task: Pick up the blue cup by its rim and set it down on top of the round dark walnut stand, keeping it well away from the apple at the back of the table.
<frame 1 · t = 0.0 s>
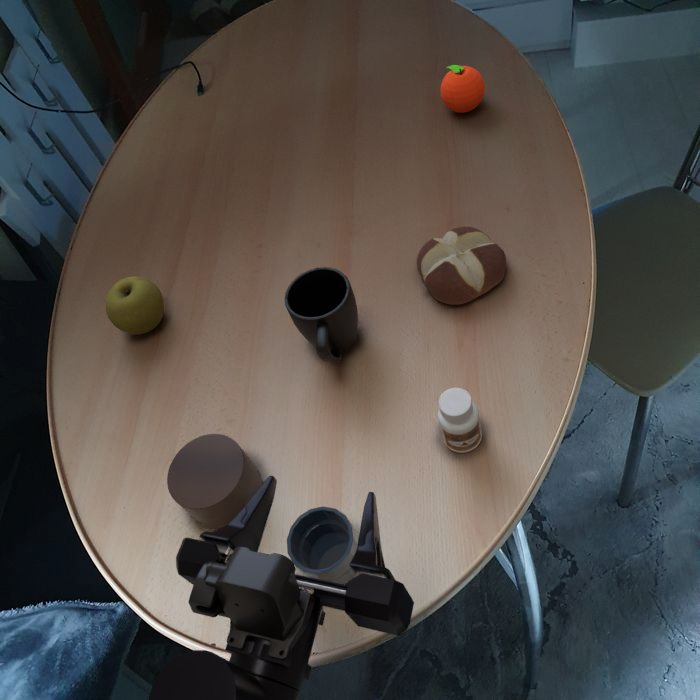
hand: (321, 485, 58), 17 cm above the table, tool horizontal, fingers open, 9 cm apart
mug: (337, 351, 87), on the table
apple: (148, 322, 98), on the table
stand: (225, 491, 79), on the table
clementine: (462, 108, 110), on the table
blue cup: (333, 557, 71), on the table
bread: (463, 273, 90), on the table
pill bottle: (462, 437, 76), on the table
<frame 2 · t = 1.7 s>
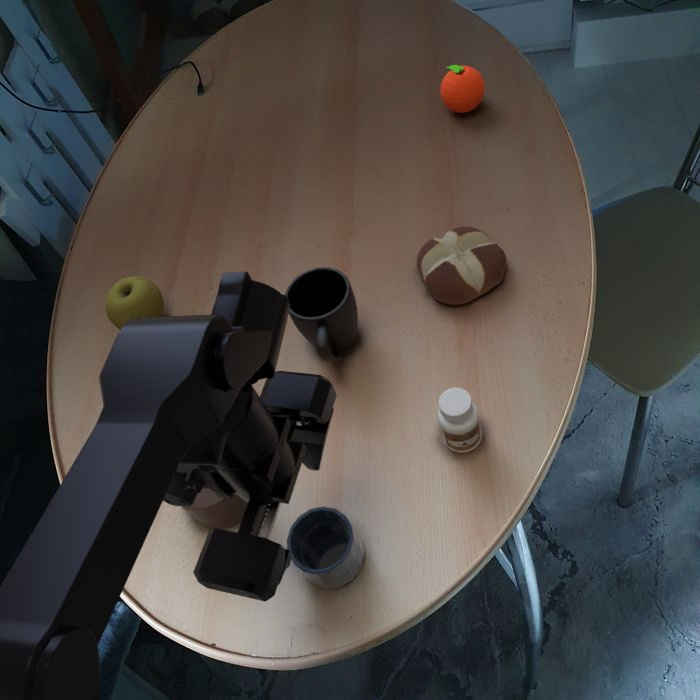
hand: (300, 514, 62), 12 cm above the table, tool pointing down, fingers open, 9 cm apart
nothing on the table moved.
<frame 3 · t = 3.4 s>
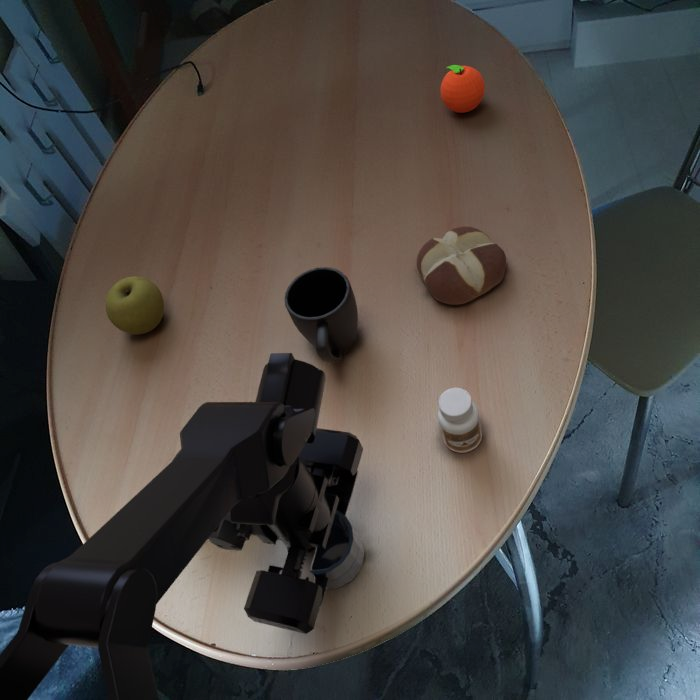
hand: (329, 552, 70), 2 cm above the table, tool pointing down, fingers closed on blue cup, 7 cm apart
blue cup: (333, 557, 71), on the table, touching gripper
everything else where it was.
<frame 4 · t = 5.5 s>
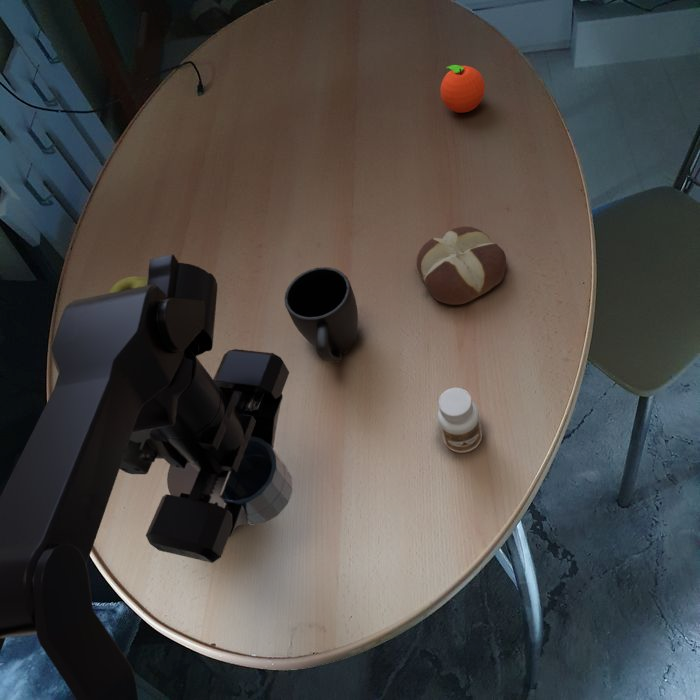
hand: (255, 486, 65), 12 cm above the table, tool pointing down, fingers closed on blue cup, 7 cm apart
blue cup: (260, 492, 66), point 10 cm above the table, touching gripper
everything else where it was.
when the fingers open (8 cm above the table, at t = 7.8 s): blue cup stays where it is, resting on stand.
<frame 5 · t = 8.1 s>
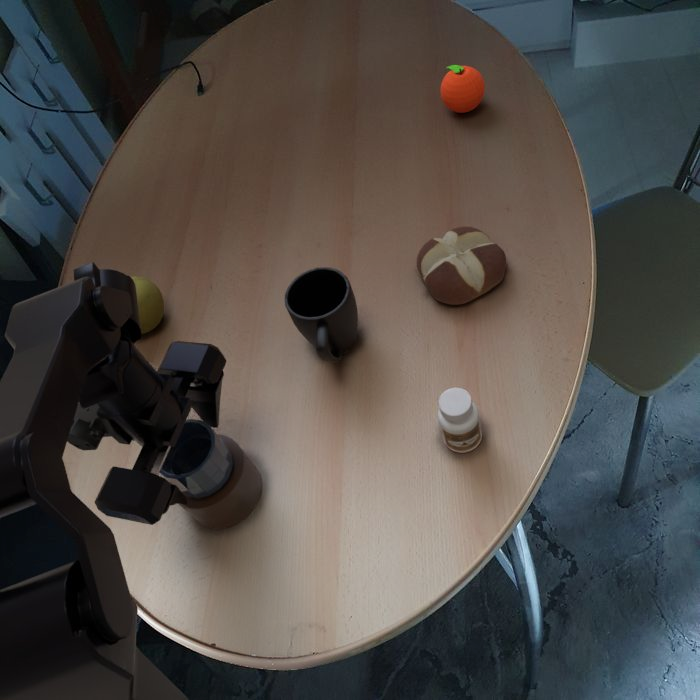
hand: (199, 463, 73), 8 cm above the table, tool pointing down, fingers open, 9 cm apart
blue cup: (205, 470, 74), point 6 cm above the table, touching stand
everything else where it was.
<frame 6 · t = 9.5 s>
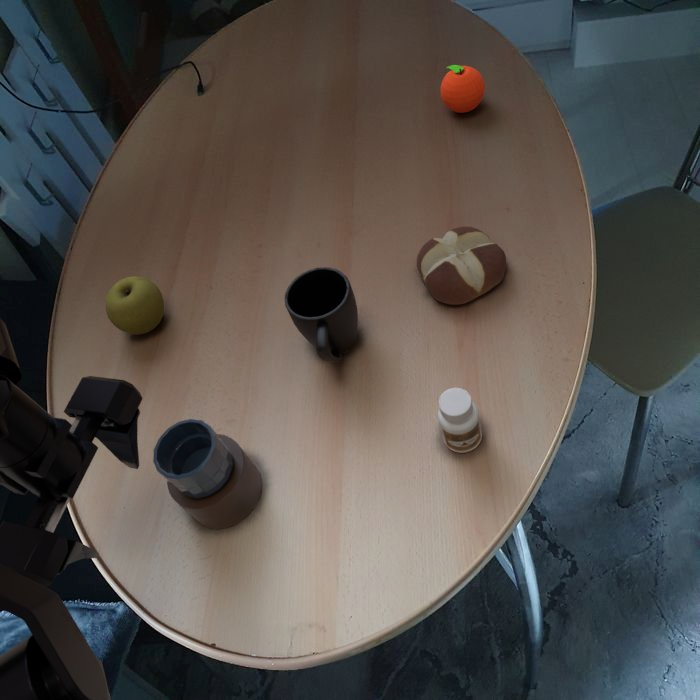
hand: (115, 509, 66), 12 cm above the table, tool pointing down, fingers open, 9 cm apart
nothing on the table moved.
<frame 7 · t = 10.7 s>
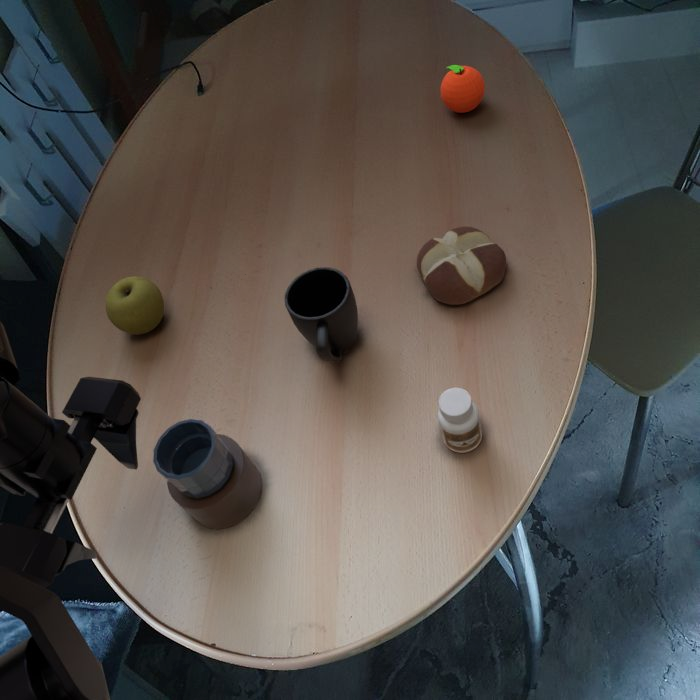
hand: (113, 510, 66), 12 cm above the table, tool pointing down, fingers open, 9 cm apart
nothing on the table moved.
at the end: blue cup 0.1 cm off-centre on the stand, point 6.0 cm above the stand's base; blue cup tilted 0°; blue cup touching stand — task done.
